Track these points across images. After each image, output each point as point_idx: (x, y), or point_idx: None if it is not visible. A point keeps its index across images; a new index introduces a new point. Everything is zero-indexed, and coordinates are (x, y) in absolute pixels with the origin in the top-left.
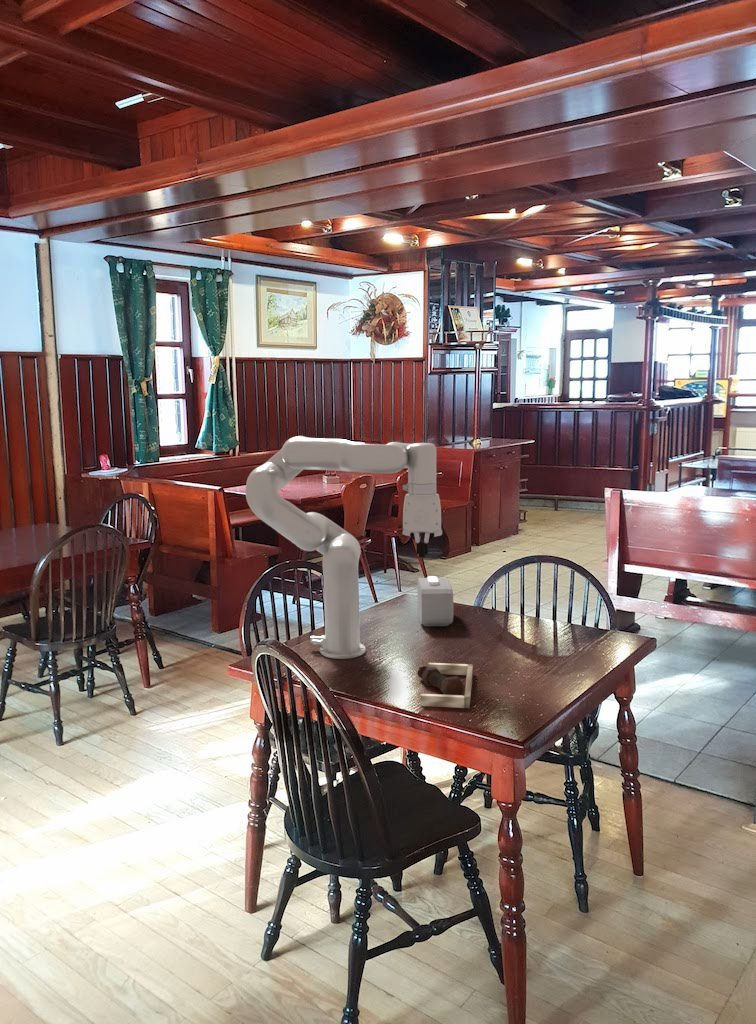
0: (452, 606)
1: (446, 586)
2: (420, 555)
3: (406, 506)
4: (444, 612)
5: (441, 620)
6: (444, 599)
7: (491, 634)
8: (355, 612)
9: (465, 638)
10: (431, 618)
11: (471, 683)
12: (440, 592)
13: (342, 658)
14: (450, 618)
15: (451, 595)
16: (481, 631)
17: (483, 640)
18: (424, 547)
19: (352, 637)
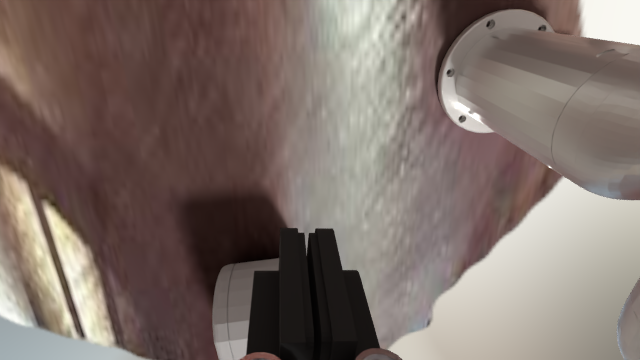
0: (216, 287)
1: (232, 355)
2: (320, 237)
3: None
4: (240, 273)
5: (250, 262)
6: (236, 303)
7: (126, 225)
8: (543, 73)
9: (186, 194)
10: (274, 260)
11: None
12: (247, 324)
13: (506, 9)
14: (227, 266)
15: (216, 317)
16: (155, 242)
17: (137, 183)
18: (283, 299)
19: (503, 46)
